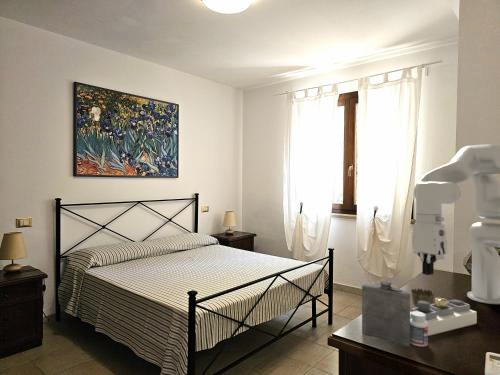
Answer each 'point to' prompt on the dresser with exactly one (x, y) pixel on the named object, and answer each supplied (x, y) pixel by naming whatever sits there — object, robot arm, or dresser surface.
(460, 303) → the button
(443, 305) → the brass knob
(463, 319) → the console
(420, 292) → the olive hollow bell-shaped piece
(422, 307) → the button
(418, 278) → the dresser surface
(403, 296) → the flask
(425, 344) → the pill bottle
